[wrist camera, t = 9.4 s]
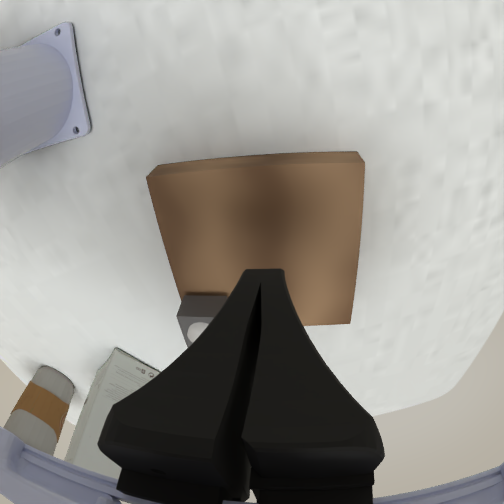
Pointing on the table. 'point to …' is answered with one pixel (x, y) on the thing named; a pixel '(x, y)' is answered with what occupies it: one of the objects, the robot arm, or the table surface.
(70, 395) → the coffee cup
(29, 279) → the table surface
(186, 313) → the gray rectangular bar
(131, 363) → the skincare box
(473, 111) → the table surface
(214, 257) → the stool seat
